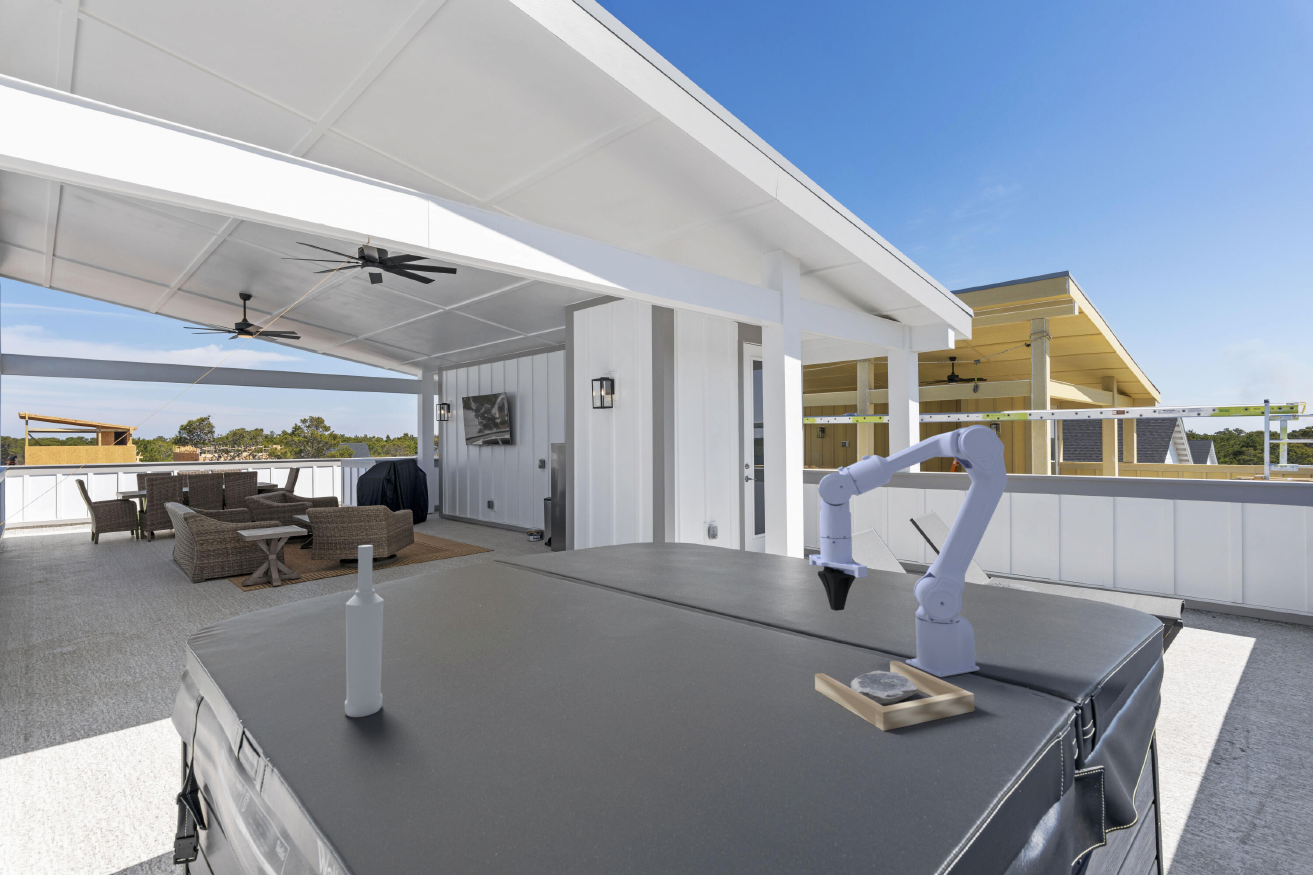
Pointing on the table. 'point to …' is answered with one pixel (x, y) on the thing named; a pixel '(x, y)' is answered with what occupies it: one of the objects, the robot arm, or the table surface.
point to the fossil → (884, 687)
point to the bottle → (364, 642)
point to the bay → (939, 706)
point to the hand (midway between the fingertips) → (837, 609)
